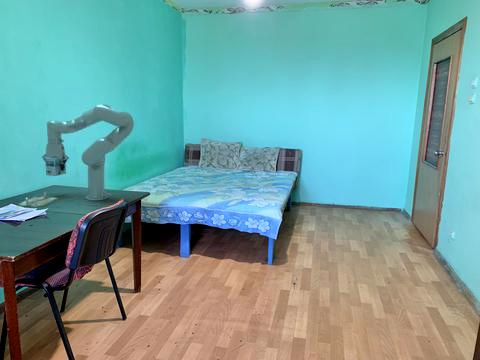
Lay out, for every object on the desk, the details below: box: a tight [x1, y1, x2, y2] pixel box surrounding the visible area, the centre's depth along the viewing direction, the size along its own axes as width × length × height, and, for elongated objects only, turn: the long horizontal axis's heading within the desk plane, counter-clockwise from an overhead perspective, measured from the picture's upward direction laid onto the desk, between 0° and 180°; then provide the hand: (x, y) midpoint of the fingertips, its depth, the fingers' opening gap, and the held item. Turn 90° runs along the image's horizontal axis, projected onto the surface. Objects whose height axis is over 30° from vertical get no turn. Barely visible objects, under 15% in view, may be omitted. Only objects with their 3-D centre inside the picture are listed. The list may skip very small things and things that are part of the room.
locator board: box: [17, 196, 59, 208], centre depth 214 cm, size 14×18×1 cm
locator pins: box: [25, 191, 47, 205], centre depth 213 cm, size 6×16×4 cm, turn 0°
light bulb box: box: [44, 157, 67, 177], centre depth 227 cm, size 11×7×11 cm, turn 171°
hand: (56, 169), depth 227 cm, fingers closed on light bulb box, 7 cm apart
